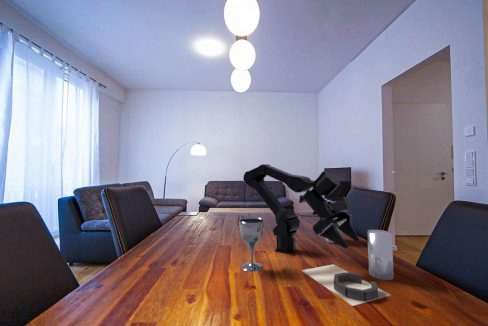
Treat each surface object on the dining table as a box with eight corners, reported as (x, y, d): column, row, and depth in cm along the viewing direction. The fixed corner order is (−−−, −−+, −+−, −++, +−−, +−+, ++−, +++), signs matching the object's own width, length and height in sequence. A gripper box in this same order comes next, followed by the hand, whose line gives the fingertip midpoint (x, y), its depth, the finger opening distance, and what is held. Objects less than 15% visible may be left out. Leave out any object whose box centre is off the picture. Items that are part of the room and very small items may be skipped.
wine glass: (266, 263, 74) (266, 218, 75) (260, 273, 66) (260, 223, 67) (244, 260, 77) (244, 217, 77) (236, 270, 69) (235, 222, 70)
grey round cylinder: (375, 283, 60) (373, 235, 61) (365, 273, 66) (363, 229, 67) (398, 284, 60) (396, 235, 60) (386, 274, 66) (384, 229, 66)
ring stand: (301, 273, 66) (301, 263, 66) (333, 267, 70) (333, 257, 71) (352, 310, 49) (352, 296, 49) (391, 299, 53) (390, 286, 53)
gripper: (321, 191, 67) (361, 235, 58) (345, 187, 80) (381, 223, 71) (299, 213, 72) (333, 257, 64) (325, 207, 85) (356, 242, 77)
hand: (352, 244), depth 69 cm, fingers open, 9 cm apart
